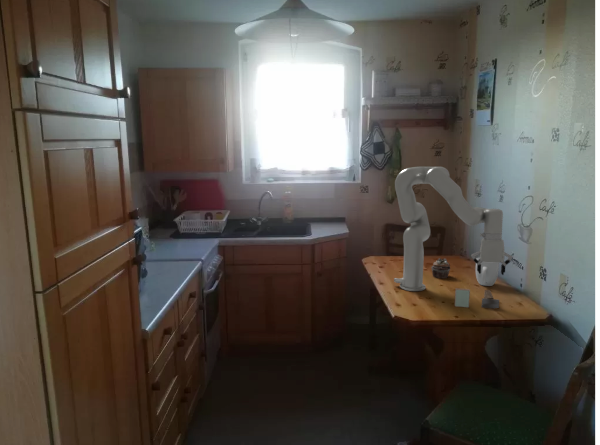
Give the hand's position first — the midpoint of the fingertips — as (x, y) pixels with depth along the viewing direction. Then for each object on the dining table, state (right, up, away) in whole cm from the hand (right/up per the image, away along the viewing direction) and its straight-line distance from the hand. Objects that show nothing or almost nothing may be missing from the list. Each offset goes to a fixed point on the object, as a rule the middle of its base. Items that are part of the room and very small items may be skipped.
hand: (490, 273), depth 214 cm
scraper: (-1, -14, 0) cm, 14 cm away
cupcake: (-11, -6, +42) cm, 44 cm away
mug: (+8, -9, +27) cm, 30 cm away
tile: (-15, -14, -4) cm, 21 cm away
